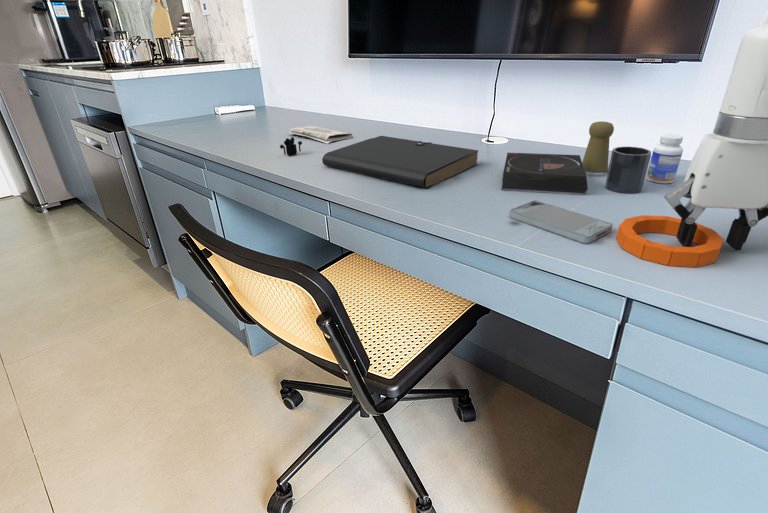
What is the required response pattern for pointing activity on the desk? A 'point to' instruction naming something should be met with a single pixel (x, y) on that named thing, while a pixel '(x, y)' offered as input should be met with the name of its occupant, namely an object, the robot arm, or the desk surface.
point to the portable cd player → (544, 173)
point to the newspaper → (320, 133)
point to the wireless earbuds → (290, 146)
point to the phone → (561, 221)
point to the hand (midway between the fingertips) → (708, 244)
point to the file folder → (403, 160)
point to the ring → (665, 253)
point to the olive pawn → (598, 147)
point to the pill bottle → (665, 159)
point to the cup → (627, 169)
